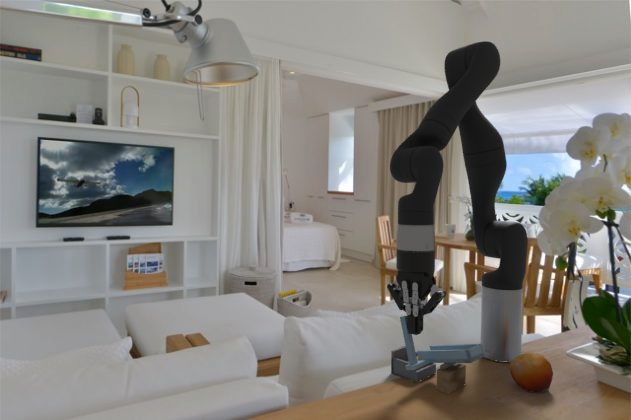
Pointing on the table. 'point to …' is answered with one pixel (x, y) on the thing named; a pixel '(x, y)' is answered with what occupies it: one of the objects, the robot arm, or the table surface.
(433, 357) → the lever
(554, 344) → the table surface
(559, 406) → the table surface
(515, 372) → the fruit
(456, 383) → the fulcrum
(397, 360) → the tray
